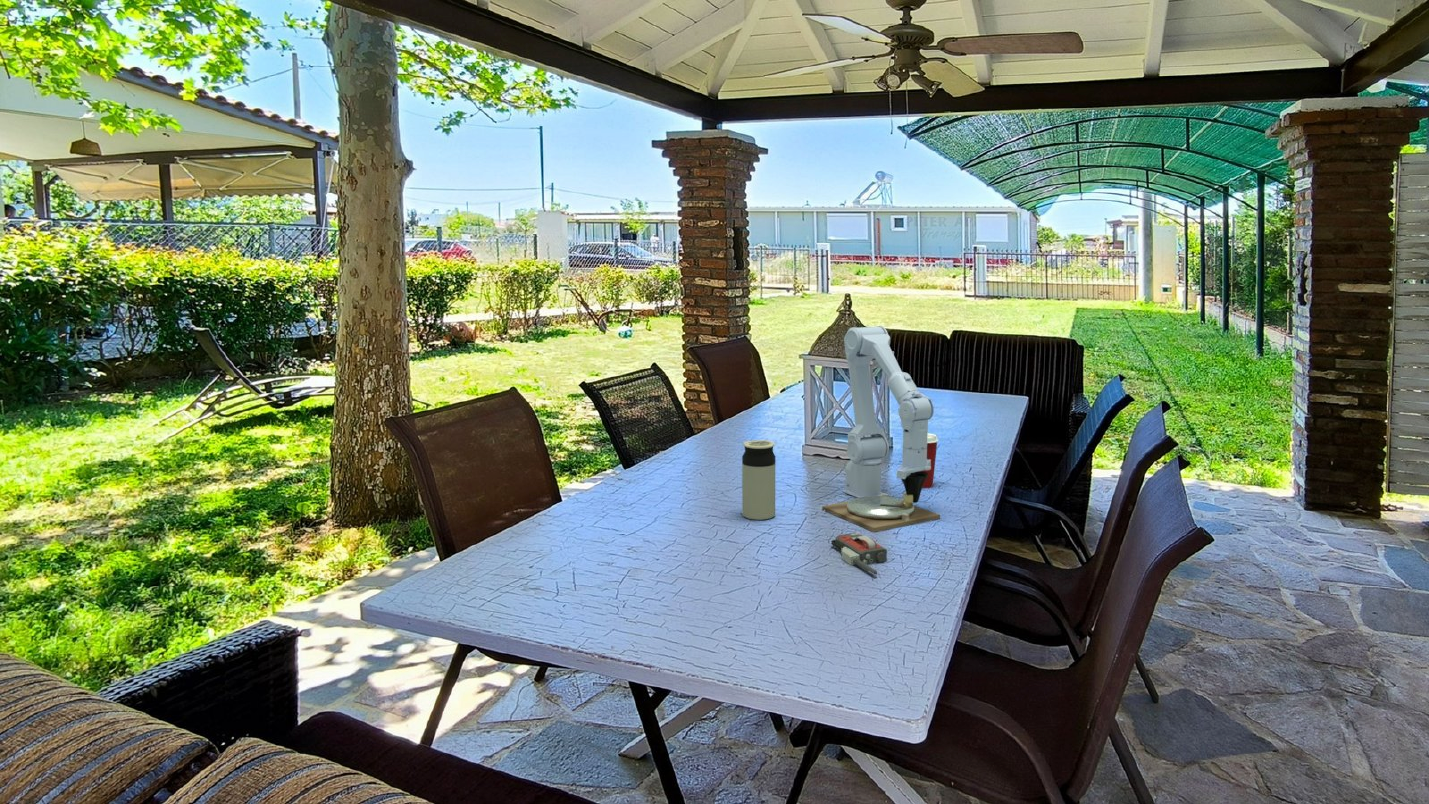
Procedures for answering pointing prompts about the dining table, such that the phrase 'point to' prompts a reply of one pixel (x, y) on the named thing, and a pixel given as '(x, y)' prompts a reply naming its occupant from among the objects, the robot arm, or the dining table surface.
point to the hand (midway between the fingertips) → (913, 501)
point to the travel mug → (758, 480)
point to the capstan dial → (881, 506)
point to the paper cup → (931, 456)
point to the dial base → (881, 524)
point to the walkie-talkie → (859, 550)
